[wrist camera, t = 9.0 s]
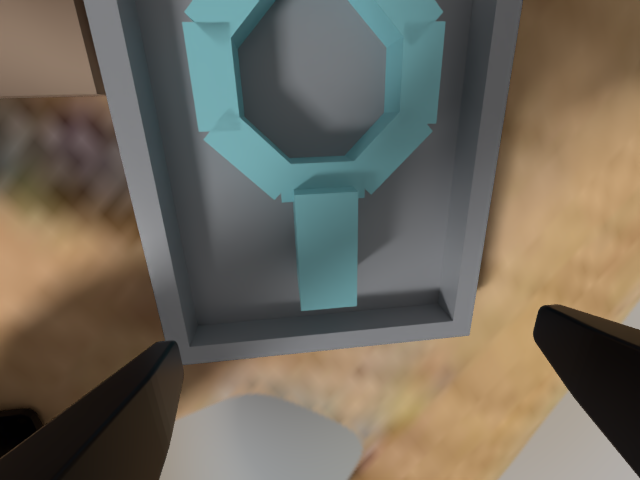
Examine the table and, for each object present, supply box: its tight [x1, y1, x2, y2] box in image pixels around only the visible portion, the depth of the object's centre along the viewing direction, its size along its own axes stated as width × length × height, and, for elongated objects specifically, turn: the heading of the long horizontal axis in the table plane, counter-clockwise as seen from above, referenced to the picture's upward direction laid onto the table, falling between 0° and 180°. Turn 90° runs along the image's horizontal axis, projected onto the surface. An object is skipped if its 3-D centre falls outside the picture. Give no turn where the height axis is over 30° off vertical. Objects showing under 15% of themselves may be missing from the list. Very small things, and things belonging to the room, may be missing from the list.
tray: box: [83, 0, 523, 365], centre depth 14 cm, size 20×15×2 cm
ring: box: [182, 0, 446, 311], centre depth 13 cm, size 14×9×3 cm, turn 2°
